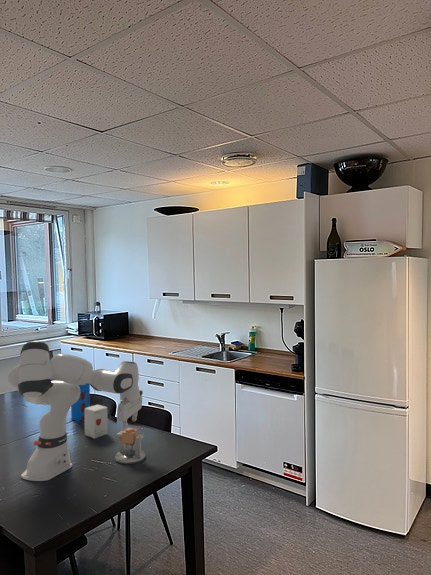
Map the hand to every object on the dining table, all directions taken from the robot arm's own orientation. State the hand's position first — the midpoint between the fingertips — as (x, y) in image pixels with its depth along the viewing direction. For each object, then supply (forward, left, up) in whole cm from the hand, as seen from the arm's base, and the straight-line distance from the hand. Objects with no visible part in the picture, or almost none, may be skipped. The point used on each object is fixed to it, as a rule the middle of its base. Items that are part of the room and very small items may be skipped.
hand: (130, 424), depth 202 cm
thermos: (+47, +54, -16) cm, 74 cm away
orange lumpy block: (0, 0, -8) cm, 8 cm away
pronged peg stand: (0, 0, -16) cm, 16 cm away
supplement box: (+24, +31, -16) cm, 43 cm away
